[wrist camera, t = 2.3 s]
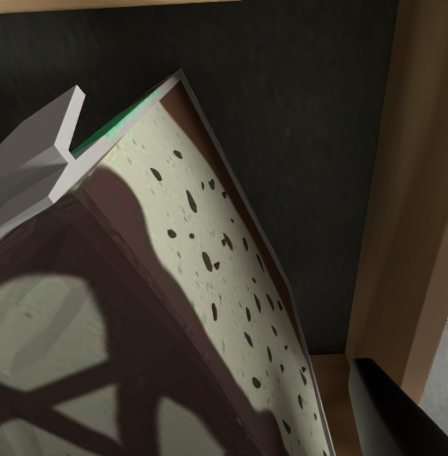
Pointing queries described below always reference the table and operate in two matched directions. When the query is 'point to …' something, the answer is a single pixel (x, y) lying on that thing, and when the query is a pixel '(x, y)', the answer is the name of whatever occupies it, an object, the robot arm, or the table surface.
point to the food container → (143, 294)
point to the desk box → (384, 216)
